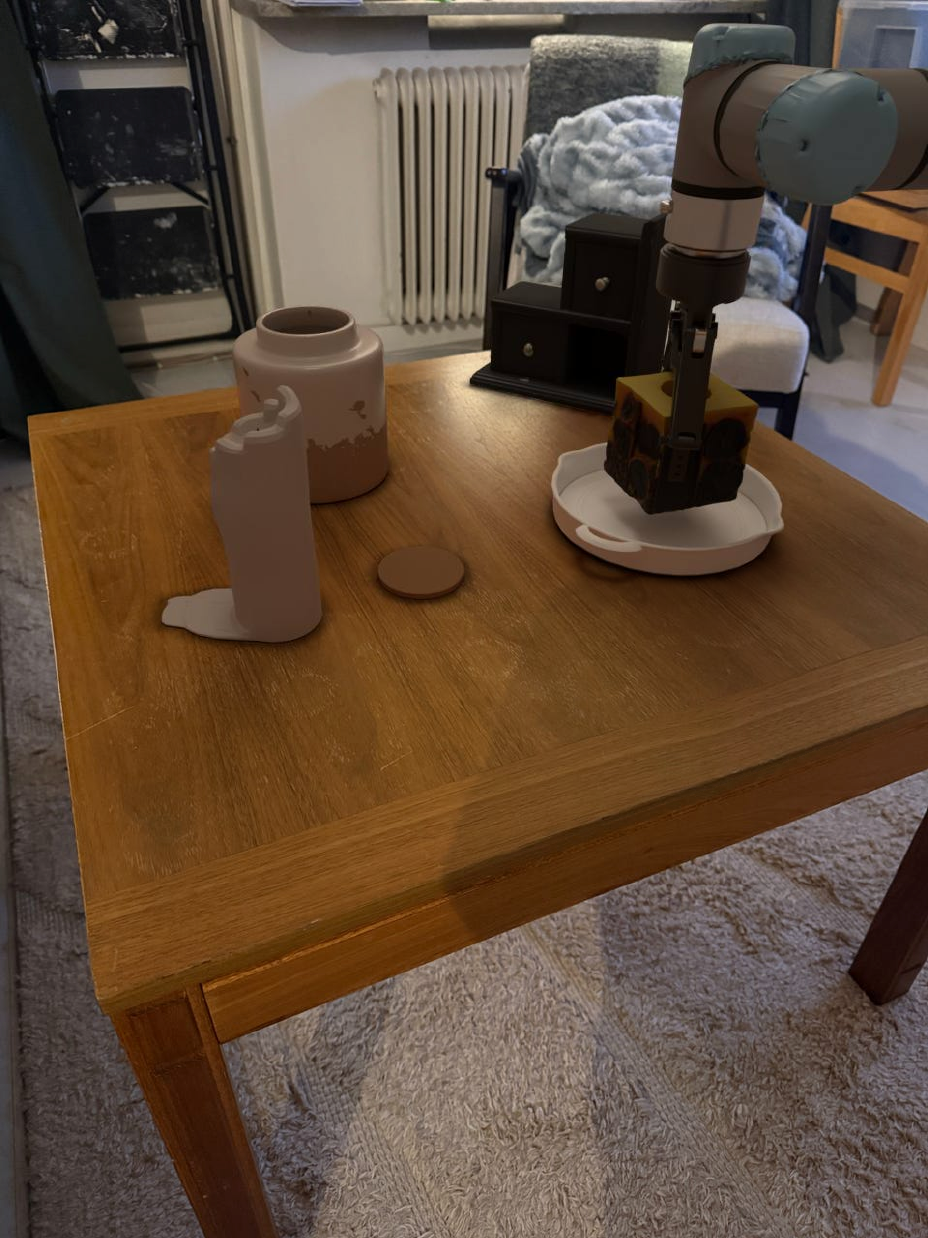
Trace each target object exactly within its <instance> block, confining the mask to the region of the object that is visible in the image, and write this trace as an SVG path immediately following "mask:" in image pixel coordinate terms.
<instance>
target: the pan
mask: <svg viewBox="0 0 928 1238" xmlns="http://www.w3.org/2000/svg"><path fill="white" fill-rule="evenodd" d="M606 446H607V442H602V443H597V444H593V445H590V446H588V447H587V446H586V447H585V448H582V449H577V450H575V449H574V450H571V451H566V452H564V453H561V454H560V455H559V456H558V459H557V466H556V468H555V469H554V471H553V473H552V475H551V482H550V487H551V491H552V512H553V517H554V521H555V523H556V525H557V526H558V527H559V529H560V531H561V532H562V533H563V534H564V535H565V536H566V537H567V538H568V539H569V541H571V542H572V543H573V544H574V545H575V546H578V548H580V549H582V550H584V551H585V552H587V553H588V554H589V555H592V556H594V557H596V558H599V559H600V560H602V561H605V562H607V563H610V564H613V565H616V566H619V567H622V568H626V569H629V570H632V571H637V572H643V573H647V574H652V575H659V576H661V575H662V576H670V577H671V576H673V577H696V576H697V577H699V576H705V575H712V574H719V573H723V572H726V571H730V570H734V569H738V568H739V567H741V566H743V565H745V564H748V563H749V562H751V561H753V560H755V558H757V557H758V556H759V555H760V554H761V553H763V552H764V551H765V549H766V547H767V546H768V544H769V543H770V540H771V538H772V536H774V535H775V534H778V533H780V532H782V531H783V529H784V527H785V523H784V520H783V518H782V511H783V502H782V500H781V497H780V493H779V492H778V490H777V489H776V488H775V486H774V484H773V483H772V482H771V481H770V480H769V479H768V478H767V477H766V476H764V475H763V474H762V472H759V470H757V469H755V468H754V467H752V466H751V465H749V464H747V463H746V466H745V469H744V471H743V473H744V474H743V481H742V484H741V485H740V487H739V489H738V493H737V498H736V499H735V500H732V501H729V502H722V503H715V504H710V505H706V506H701V507H693V508H690V509H684V511H683V510H678V511H674V512H664V513H659V514H653V515H649V514H647V513H646V512H644V510H643V509H642V508H641V506H640V504H639V503H638V501H637V500H636V499H634V498H632V497H630V496H628V494H626V493H625V492H624V491H623V490H622V488H621V487H620V486H618V485H617V484H616V483H615V482H614V480H613V478H611V477H610V476H609V475H608V474H607V472H606V471H605V470H604V461H605V460H606V459H607V458H606Z"/></svg>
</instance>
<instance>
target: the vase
mask: <svg viewBox="0 0 928 1238" xmlns="http://www.w3.org/2000/svg"><path fill="white" fill-rule="evenodd" d="M231 358H232V360H231V361H232V367H233V368H232V369H233V374H234V382H235V387H236V394H237V403H238V409H239V415H240V418H243V417H245V416H247V415H250V414H255V413H261V412H263V409H264V402H265V400H267V399H275V400H278V397H277V388H278V387H279V386H280V385H284V386H288V387H289V388H291V390H292V391H293V392H294V393H295V395H296V396H297V398H298V400H299V402H300V405H301V409H302V415H303V423H304V434H305V444H306V455H307V468H308V482H309V499H310V504H327V503H335V502H340V501H345V500H349V499H352V498H355V497H359V496H361V495H364V494H366V493H368V492H370V491H371V490H373V489H374V488H377V487H378V486H379V485H380V484H381V483H382V482H383V480H384V479H385V478H386V476H387V474H388V469H389V444H388V442H389V441H388V419H387V394H386V393H387V391H386V388H387V387H386V368H385V367H386V366H385V364H386V363H385V349H384V343H383V340H382V338H381V336H380V335H379V334H378V333H377V332H376V331H374V330H373V329H371V328H369V327H367V326H365V325H362V324H358V323H357V322H356V318H355V316H354V315H353V314H352V313H351V312H349V311H347V310H345V309H342V308H338V307H334V306H328V305H319V304H301V305H290V306H284V307H280V308H276V309H275V308H274V309H272V310H269V311H267V312H265V313H263V314H261V315H260V316H259V317H258V318H257V319H256V323H255V327H254V328H251V329H249V330H246V331H245V332H243V333H242V334H239V336H238V337H237V338H236V339H235V340H234V342H233V343H232V347H231Z"/></svg>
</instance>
